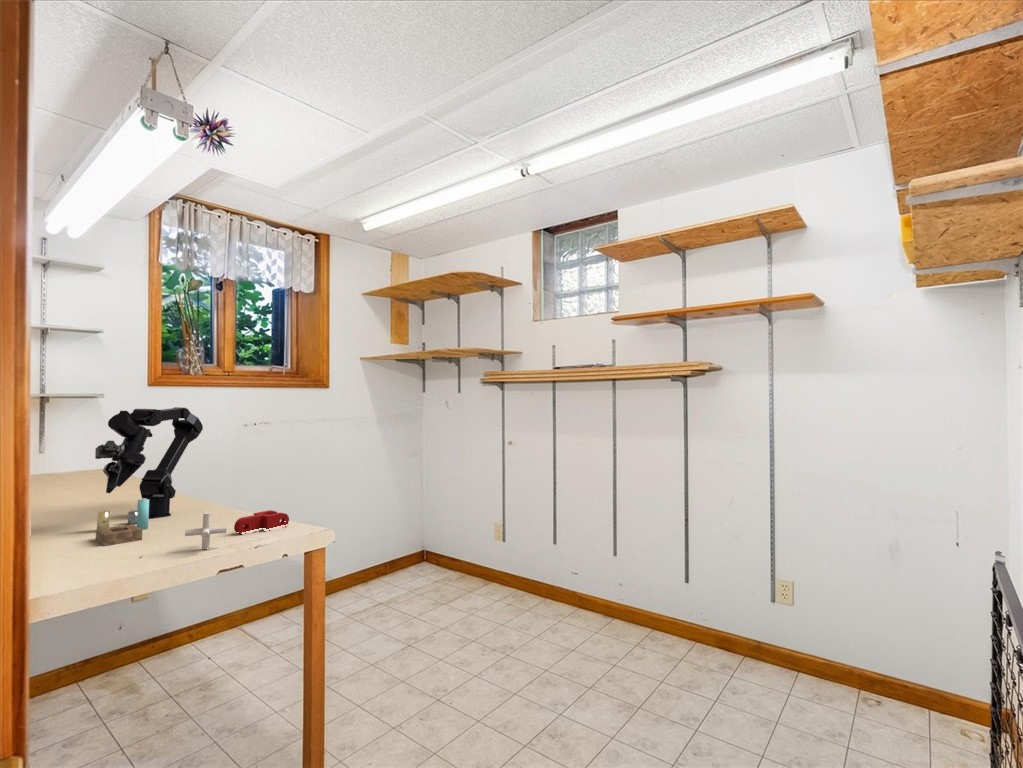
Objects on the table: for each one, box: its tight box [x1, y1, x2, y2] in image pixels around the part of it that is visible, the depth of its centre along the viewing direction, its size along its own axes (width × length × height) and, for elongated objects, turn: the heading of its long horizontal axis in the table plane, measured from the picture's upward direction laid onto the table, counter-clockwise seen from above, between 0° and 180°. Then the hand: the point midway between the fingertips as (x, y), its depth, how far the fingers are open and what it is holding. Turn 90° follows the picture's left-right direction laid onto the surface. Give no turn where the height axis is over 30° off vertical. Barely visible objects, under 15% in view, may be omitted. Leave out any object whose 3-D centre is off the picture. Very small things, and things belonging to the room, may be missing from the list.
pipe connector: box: [184, 511, 228, 550], centre depth 149 cm, size 10×10×10 cm
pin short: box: [127, 509, 137, 526], centre depth 174 cm, size 3×3×4 cm
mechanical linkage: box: [233, 510, 290, 533], centre depth 171 cm, size 16×7×5 cm, turn 149°
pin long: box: [136, 498, 150, 531], centre depth 168 cm, size 3×3×9 cm
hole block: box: [95, 524, 143, 547], centre depth 155 cm, size 9×9×3 cm
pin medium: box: [96, 509, 111, 529], centre depth 164 cm, size 3×3×6 cm
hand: (112, 489), depth 164 cm, fingers open, 9 cm apart
